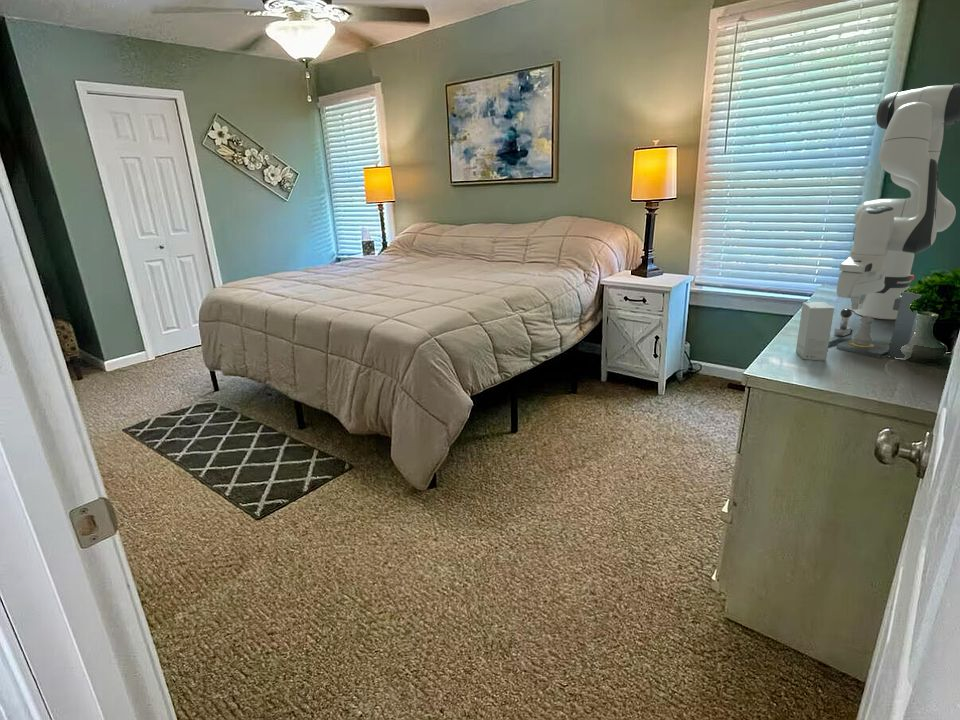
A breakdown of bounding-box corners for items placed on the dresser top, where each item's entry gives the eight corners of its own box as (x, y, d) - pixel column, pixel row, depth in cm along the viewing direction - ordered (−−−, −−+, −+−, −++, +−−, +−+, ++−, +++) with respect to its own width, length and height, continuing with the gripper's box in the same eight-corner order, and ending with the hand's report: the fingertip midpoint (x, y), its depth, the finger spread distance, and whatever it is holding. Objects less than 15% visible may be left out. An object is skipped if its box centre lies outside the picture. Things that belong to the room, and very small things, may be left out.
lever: (840, 331, 157) (845, 306, 154) (850, 333, 155) (855, 308, 152) (833, 333, 155) (838, 309, 152) (843, 335, 153) (848, 310, 150)
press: (840, 336, 158) (852, 279, 152) (920, 353, 141) (937, 290, 135) (813, 345, 151) (825, 285, 145) (894, 364, 134) (910, 298, 128)
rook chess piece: (848, 341, 149) (854, 315, 146) (863, 340, 149) (869, 314, 146) (859, 346, 145) (865, 319, 142) (875, 345, 145) (881, 318, 142)
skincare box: (826, 361, 139) (837, 308, 134) (801, 359, 141) (810, 307, 136) (817, 351, 146) (827, 301, 141) (793, 350, 148) (802, 300, 143)
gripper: (871, 259, 158) (862, 302, 162) (836, 265, 148) (827, 311, 153) (895, 261, 153) (885, 306, 157) (860, 267, 143) (850, 315, 148)
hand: (856, 308), depth 155 cm, fingers closed
